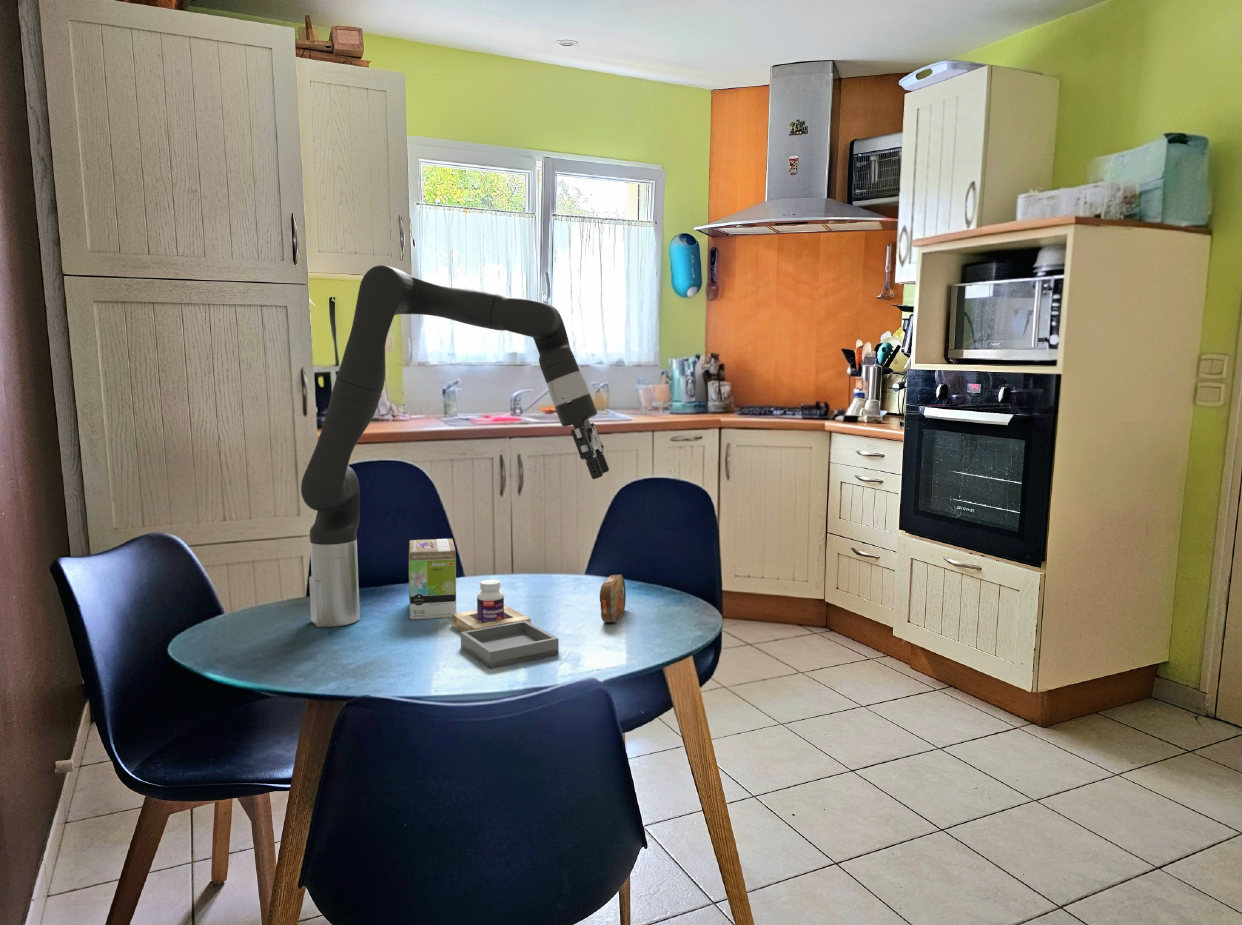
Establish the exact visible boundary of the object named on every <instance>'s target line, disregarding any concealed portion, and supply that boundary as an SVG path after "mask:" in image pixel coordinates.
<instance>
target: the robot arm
mask: <svg viewBox="0 0 1242 925" xmlns="http://www.w3.org/2000/svg"><path fill="white" fill-rule="evenodd" d="M396 315H397V316H398V315H421V316H422V315H425V316H433V317H439V318H442V319H443V318H445V319H448V320H452V321H455V322H459V323H463V324H466V325H470V326H474V327H479V328H485V329H489V330H494V331H506V332H510V333H513V334H518V335H521V336H527V337H529V338H533V341H534V344H535V345H536V349H537V352H538V354H539V357H538V363H539V367H540V369H541V372H542V375H543V378H544V380H545V382H546V385H547V389H548V393H549V396H550V399H551V401H552V404H553V407H554V409H555V412H556V414H557V417H558V420H559V422H560V424H561V427H562V428H567V427H570V426H573V429H572V430H570V434H571V435H572V438H573V440H574V443H575V446H576V448H577V452H578V454H579V458H580V459H581V460H582V461H584V462H585V464H586V466H587V468H588V472H589V474H590V477H591V479H592V480H596V479H599V478H601V477H603V475H604V474H605V473H607V472H609V471H610V467H609V465H608V462H607V459H606V457H605V454H604V453H605V452H604V449H605V447H604V444H603V442H602V441H601V438H600V436H599V432H598V430H597V428H596V424H595V423H594V422H590V420H589V419H591V418H592V417H595V416H597V415H598V411H597V408H596V405H595V403H594V400H593V398H592V397H593V396H592V395H591V392H590V390H589V387H588V384H587V383H586V380H585V378H584V377H583V375H582V373H581V370H580V367H579V365H578V362H577V360H576V358H575V355H574V353H573V351H572V349H571V346H570V341H569V337H568V333H567V330H566V327H565V324H564V320H563V318H562V316H561V314H560V312H559V310H558V309H557V308H556V307H555V306H552V305H551V304H548V303H546V302H544V301H539V300H534V299H533V300H532V299H526V298H519V297H510V296H508V295H505V294H504V295H503V294H501V293H495V292H489V291H485V290H478V289H471V288H460V287H452V286H451V287H450V286H445V285H444V286H443V285H440V284H436V283H432V282H430V281H429V282H428V281H426V280H423V279H422V278H421V279H420V278H418V277H415V276H412V275H411V274H408V273H406V272H405V271H403V270H401V269H398V268H396V267H391V266H389V265H386V264H381V265H380V264H379V265H375V266H372V267H370V269H369V270H367V271H366V273H364V275H363V277H362V279H361V281H360V285H359V288H358V294H357V298H356V303H355V309H354V316H353V321H352V324H351V330H350V333H349V336H348V340H347V341H346V342H347V343H346V345H345V349H344V352H343V356H342V360H341V363H340V366H339V369H338V371H337V374H336V376H335V377H336V378H335V380H334V383H333V384H334V385H333V387H332V391H331V395H330V398H329V404H328V406H327V410H326V413H325V416H324V419H323V424H322V427H321V431H320V434H319V437H318V440H317V442H316V445H315V448H314V450H313V453H312V455H311V458H310V460H309V462H308V464H307V466H306V469H305V472H304V474H303V476H302V480H301V485H300V493H301V497H302V500H303V502H304V503H305V504H306V506H308V508H310V509H311V510H314V511H317V515H316V519H315V520H314V521H315V522H314V523H313V525H312V526H311V528H310V530H309V546H310V567H311V568H310V570H311V572H310V573H311V574H310V576H309V578H308V579H309V580H308V582H309V602H310V603H309V605H310V606H309V607H310V621H311V622H312V623H313V624H314V625H315V627H317V628H322V627H327V628H328V627H329V628H330V627H341V626H347V625H351V624H354V623H356V622H358V621H359V620H360V612H361V611H360V610H361V608H360V590H359V564H358V541H357V540H358V538H357V537H358V536H357V535H358V534H357V532H358V528H359V525H360V517H361V514H360V512H361V510H360V509H361V508H360V507H361V504H360V503H361V499H360V498H361V497H360V495H361V494H360V482H359V478H358V476H357V474H356V472H355V471H354V469H353V468H352V467H350V466H349V462H350V460H351V456H352V453H353V451H354V448H355V447H356V445H357V444H358V442H359V440H360V438H361V437H362V435H363V434H364V432H365V431H366V429H367V427H368V426H369V424H370V423H371V421H372V419H373V418H374V416H375V414H376V412H377V409H378V406H379V403H380V400H381V396H382V393H383V390H384V386H385V381H386V344H387V337H388V334H389V331H390V328H391V326H392V323H393V320H394V317H395V316H396Z"/></svg>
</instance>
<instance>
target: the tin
mask: <svg viewBox="0 0 1242 925" xmlns="http://www.w3.org/2000/svg"><path fill="white" fill-rule="evenodd" d="M626 595H627V593H626V582H625V578H624V576H623V574H612V575H609V576H608V577H607V578H606V579H605V581H604V582H603V583H602V584H601V587H600V590H599V603H600V617H601V620H602V622H603V623H608V624H610V623H613V624H617V622H618V621H619V620H620V618H621V616H622V615H623V613H624V612H625V609H626V601H627V600H626Z"/></svg>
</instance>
